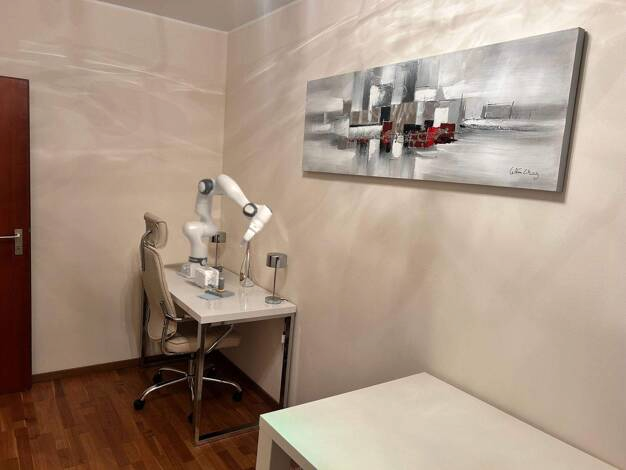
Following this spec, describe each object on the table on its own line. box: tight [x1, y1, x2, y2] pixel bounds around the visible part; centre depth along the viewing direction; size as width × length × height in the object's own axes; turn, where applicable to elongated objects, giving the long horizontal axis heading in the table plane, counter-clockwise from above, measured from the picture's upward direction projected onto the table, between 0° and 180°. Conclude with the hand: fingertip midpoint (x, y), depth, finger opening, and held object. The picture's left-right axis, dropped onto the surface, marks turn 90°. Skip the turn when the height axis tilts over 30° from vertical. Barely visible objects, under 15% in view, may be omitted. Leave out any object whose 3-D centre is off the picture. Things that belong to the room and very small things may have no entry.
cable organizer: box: [194, 266, 220, 289], centre depth 314 cm, size 15×11×12 cm
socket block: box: [206, 287, 236, 299], centre depth 298 cm, size 14×10×3 cm
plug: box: [217, 277, 225, 293], centre depth 297 cm, size 5×5×10 cm
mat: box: [196, 293, 221, 301], centre depth 289 cm, size 10×9×1 cm
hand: (240, 246), depth 296 cm, fingers open, 8 cm apart
